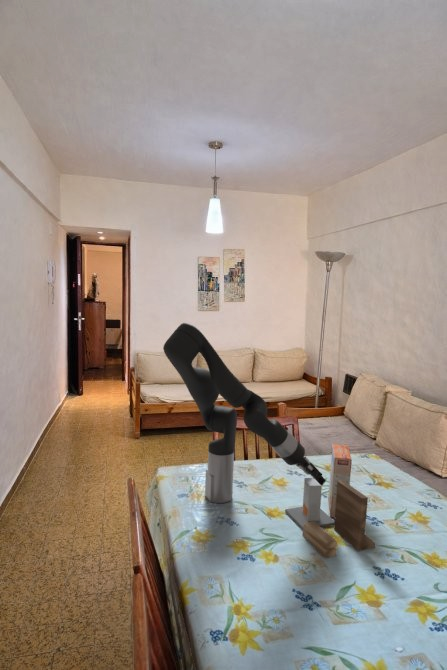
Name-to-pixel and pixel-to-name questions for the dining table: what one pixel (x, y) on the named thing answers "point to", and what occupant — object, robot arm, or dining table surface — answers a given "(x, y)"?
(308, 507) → the skincare box
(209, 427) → the robot arm
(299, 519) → the slate pad
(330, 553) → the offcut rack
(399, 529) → the dining table surface
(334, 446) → the cracker box
